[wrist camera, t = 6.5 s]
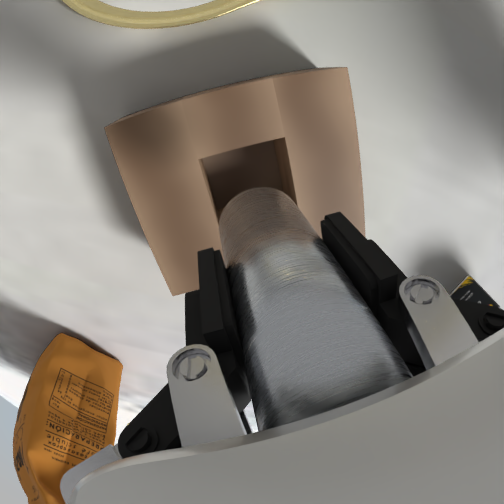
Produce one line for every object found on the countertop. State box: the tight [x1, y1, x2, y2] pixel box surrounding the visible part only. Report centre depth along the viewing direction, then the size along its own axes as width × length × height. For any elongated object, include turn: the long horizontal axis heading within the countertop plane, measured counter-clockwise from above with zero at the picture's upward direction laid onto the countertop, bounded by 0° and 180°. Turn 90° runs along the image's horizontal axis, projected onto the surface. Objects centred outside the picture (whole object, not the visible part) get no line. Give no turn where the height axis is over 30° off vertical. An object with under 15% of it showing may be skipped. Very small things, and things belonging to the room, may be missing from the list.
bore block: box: [104, 67, 365, 296], centre depth 21 cm, size 14×12×5 cm
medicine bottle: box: [449, 275, 501, 308], centre depth 31 cm, size 7×7×12 cm
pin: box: [219, 187, 413, 431], centre depth 10 cm, size 4×4×10 cm
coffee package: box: [13, 333, 123, 504], centre depth 22 cm, size 10×12×22 cm
